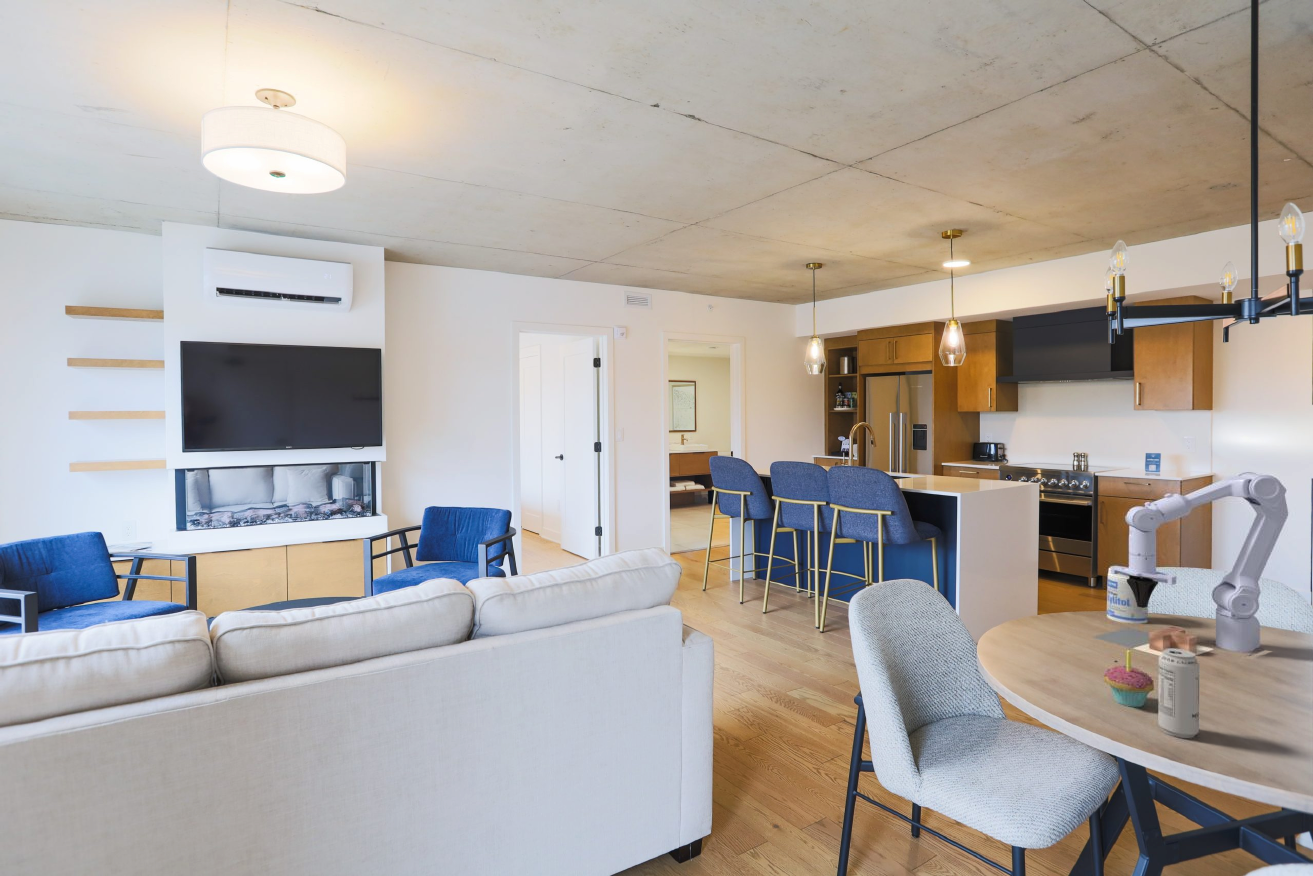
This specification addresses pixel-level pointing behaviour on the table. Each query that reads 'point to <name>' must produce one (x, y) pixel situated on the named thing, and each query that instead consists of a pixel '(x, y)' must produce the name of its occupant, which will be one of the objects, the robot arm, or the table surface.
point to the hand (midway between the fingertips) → (1142, 606)
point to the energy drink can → (1178, 693)
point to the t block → (1172, 640)
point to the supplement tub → (1123, 601)
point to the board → (1137, 640)
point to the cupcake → (1129, 684)
